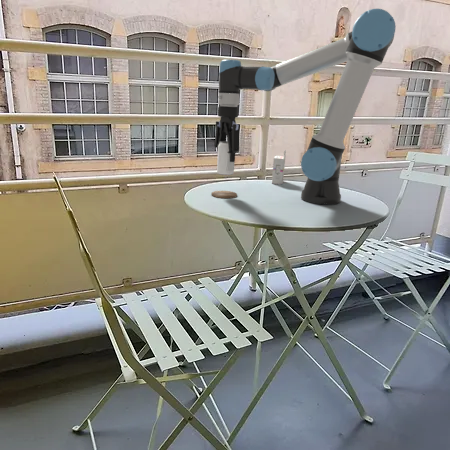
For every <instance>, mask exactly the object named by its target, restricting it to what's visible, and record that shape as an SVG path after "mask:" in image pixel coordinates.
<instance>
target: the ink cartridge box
mask: <svg viewBox="0 0 450 450" xmlns="http://www.w3.org/2000/svg"><path fill="white" fill-rule="evenodd" d="M286 155H287V154H286V149H285V150H284V152H283V155H275V156H274V157H273V164H272V167H273V168H272V176H271V177H272V179H271V184H272V185H283V182H284V176H285V175H284V174H285V168H286V167H285V166H286V165H285V164H286Z"/></svg>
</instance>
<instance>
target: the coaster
mask: <svg viewBox="0 0 450 450" xmlns="http://www.w3.org/2000/svg"><path fill="white" fill-rule="evenodd" d="M211 197H214V198H217V199H234V198H237V197H238V193H236V192H234V191H231V190H215V191H212V192H211Z"/></svg>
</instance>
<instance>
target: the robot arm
mask: <svg viewBox="0 0 450 450" xmlns="http://www.w3.org/2000/svg"><path fill="white" fill-rule="evenodd" d="M396 26H397V25H396V22H395V19H394V17H393V16H392V14H391V13H390V12H389V11H388V10H385V9H383V8H371V9H368V10H366V11H364V12H363V13H361V14H360V16H358V18H357V19H356V20H355V22H354V23H353V26H352V31H350V32H347V34H346V35H345V37H344V38H340V39H338V40H335V41H334V42H331V43H328V44H326V45H323V46H320V47H318V48H316V49H313V50H311V51H308V52H306V53H302V54H300V55H298V56H296V57H293V58H290V59H288V60H285V61H283V62H280V63H277V64H276V65H273V66H243V65H242V63H241V61H240V60H238V59H222V60H221V61H220V63H219V72H218V97H217V98H218V100H217V101H218V105H219V106H218V107H217V116H218V117H220V120H218V121H215V135H214V137H215V139H214V148H216V150H217V151H218V145H219V143H220V141H228V146H229V152H228V159H227V171H231V170H234V171H235V163H236V153H239V152H240V130H241V129H240V128H241V124H239V123H237V122H236V118H238V117H239V107H238V106H239V105H240V90H251V91H252V90H256V91H264V92H271V91H273V90H275V89H277V88H279V87H281V86H283V85H286V84H288V83H293V82H294V81H297V80H299V79H303V78H305V77H308V76H311V75H314V74H317V73H319V72H322V71H324V70H328V69H330V68H333V67H335V66H339V65H340V64H343V63H345V66H344V68H343V71H342V73H341V76H340V79H339V81H338V82H337V83H338V84H337V86H336V89H335V91H334V93H333V96H332V98H331V102H330V104H329V106H328V109H327V111H326V114H325V117H324V119H323V121H322V123H321V127H320V129H319V132H318V133H316V134H314V135H312V137H311V139H310V142H309V144H308V147H307V150H306V151H305V152H304V153H303V155H302V157H301V161H300V166H301V167H300V169H301V170H302V172H303V175H304V176H306V178H307V180H306V182H305V185H304V187H303V190H302V191H301V195H300V198H301V200H303V201H304V202H308V203H311V204H316V205H337V204H340V203H341V199H342V194H341V190H340V184H339V181H340V180H339V179H340V173H341V165H342V159H343V154H344V151H345V149H346V146H345V144H344V140H345V138H346V135H347V133H348V130H349V128H350V126H351V123H352V122H353V119H354V116H355V114H356V112H357V110H358V107H359V105H360V103H361V100H362V98H363V95H364V93H365V91H366V89H367V86H368V84H369V81H370V79H371V77H372V74H373V72H374V69H376V68H377V67H378V66H381V65H382V63H383V61H384V59H385V57H386V55H387V52H388V50H389V48H390V46H391V45H392V43H393V41H394V38H395V35H396V34H395V33H396Z"/></svg>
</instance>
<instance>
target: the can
mask: <svg viewBox="0 0 450 450" xmlns="http://www.w3.org/2000/svg"><path fill="white" fill-rule="evenodd" d="M228 152H229V146H228V140H226V141H220V143H219V145H218V150H217V158H216V159H217V162H216V163H217V164H216V173H217V174H218V175H221V176H231V175H234V173H235V169H234V170H231V171H227V159H228Z"/></svg>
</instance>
